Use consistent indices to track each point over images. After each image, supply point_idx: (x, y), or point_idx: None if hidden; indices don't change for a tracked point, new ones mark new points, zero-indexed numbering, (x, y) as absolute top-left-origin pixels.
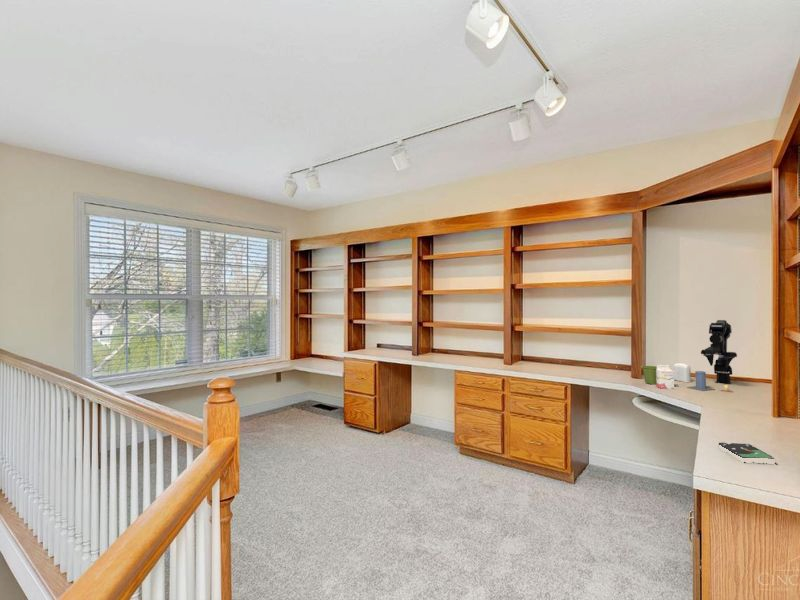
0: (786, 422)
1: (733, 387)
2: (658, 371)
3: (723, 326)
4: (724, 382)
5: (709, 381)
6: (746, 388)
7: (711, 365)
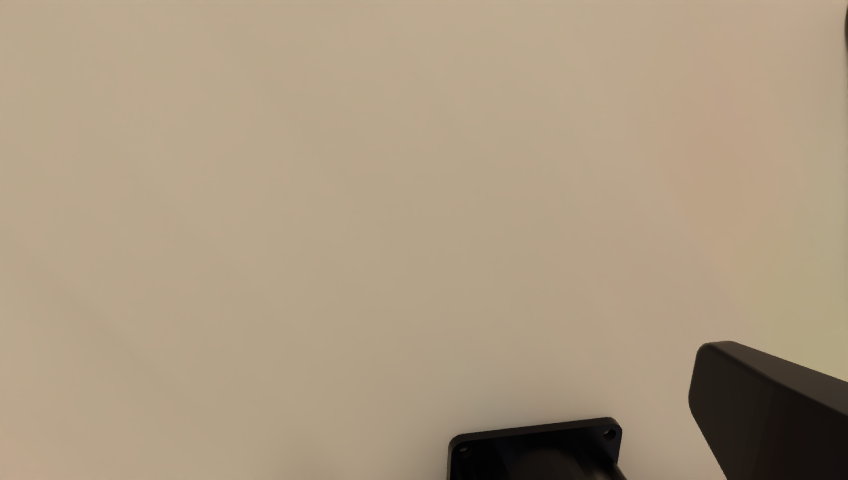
0: None
1: (184, 349)
2: None
3: None
4: (481, 477)
5: None
6: (37, 473)
7: (702, 364)
